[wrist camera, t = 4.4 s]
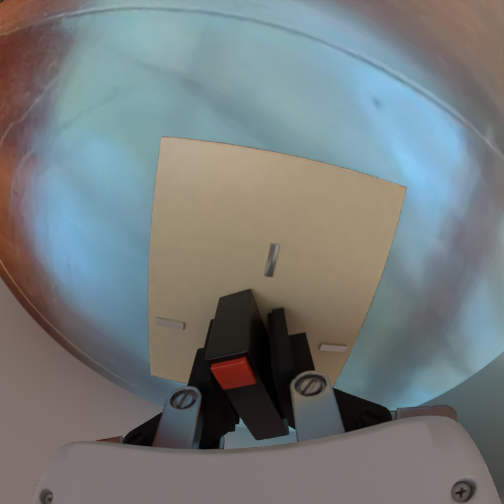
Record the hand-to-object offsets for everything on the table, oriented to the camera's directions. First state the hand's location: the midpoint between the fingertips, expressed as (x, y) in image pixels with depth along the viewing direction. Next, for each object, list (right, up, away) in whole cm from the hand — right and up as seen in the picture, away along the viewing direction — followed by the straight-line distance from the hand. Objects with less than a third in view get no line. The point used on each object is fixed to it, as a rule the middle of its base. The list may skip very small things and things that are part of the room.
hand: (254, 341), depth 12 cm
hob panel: (0, +3, +2) cm, 4 cm away
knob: (0, 0, 0) cm, 0 cm away
